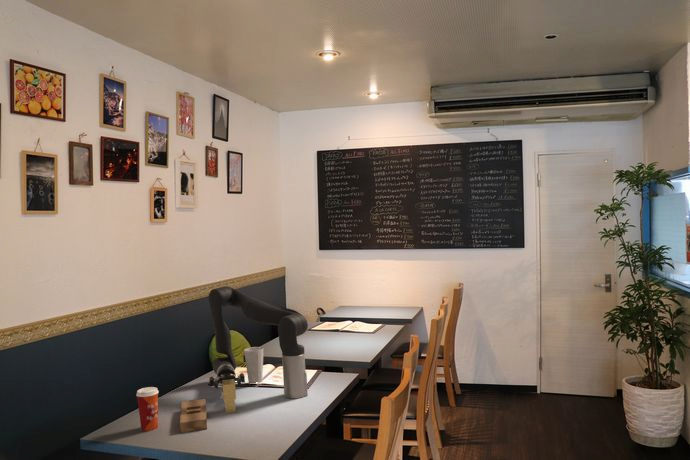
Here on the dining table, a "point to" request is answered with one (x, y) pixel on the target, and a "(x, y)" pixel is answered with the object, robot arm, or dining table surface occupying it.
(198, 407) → the brown flat wooden block
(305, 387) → the robot arm
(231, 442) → the dining table surface
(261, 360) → the cup
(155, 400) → the paper cup
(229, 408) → the tan boxy piece
